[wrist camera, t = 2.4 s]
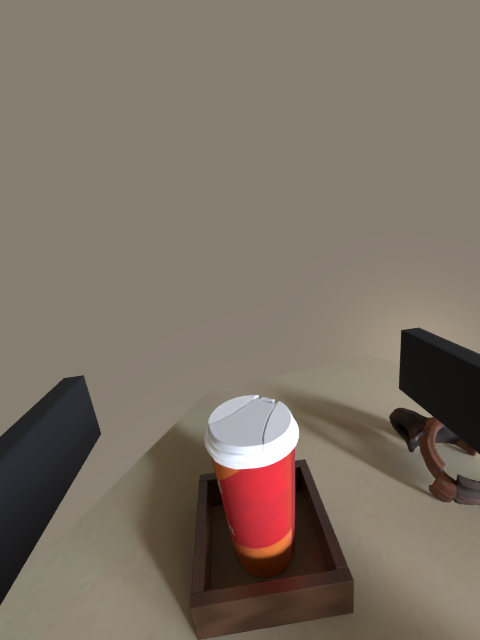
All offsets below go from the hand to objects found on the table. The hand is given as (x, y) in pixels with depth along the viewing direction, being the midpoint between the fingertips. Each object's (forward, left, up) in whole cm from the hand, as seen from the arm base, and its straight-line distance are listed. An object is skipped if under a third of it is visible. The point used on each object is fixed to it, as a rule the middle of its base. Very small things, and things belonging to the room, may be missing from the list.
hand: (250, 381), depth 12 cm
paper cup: (+3, +9, -22) cm, 24 cm away
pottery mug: (+25, +8, -22) cm, 34 cm away
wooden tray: (+3, +9, -22) cm, 24 cm away
